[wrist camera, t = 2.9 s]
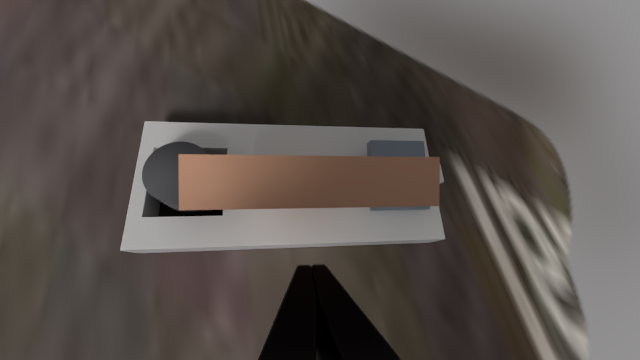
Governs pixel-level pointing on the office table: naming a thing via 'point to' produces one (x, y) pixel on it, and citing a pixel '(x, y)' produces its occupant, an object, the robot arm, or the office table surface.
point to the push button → (167, 173)
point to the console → (271, 224)
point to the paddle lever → (306, 181)
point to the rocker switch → (396, 150)
